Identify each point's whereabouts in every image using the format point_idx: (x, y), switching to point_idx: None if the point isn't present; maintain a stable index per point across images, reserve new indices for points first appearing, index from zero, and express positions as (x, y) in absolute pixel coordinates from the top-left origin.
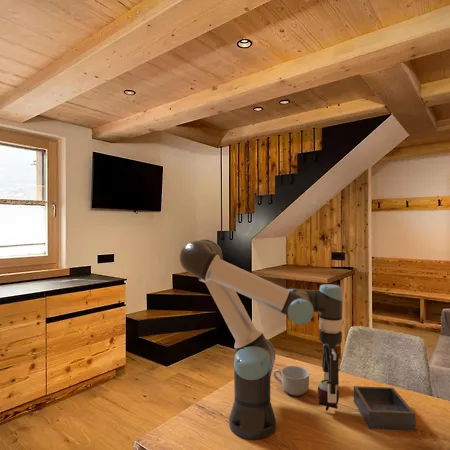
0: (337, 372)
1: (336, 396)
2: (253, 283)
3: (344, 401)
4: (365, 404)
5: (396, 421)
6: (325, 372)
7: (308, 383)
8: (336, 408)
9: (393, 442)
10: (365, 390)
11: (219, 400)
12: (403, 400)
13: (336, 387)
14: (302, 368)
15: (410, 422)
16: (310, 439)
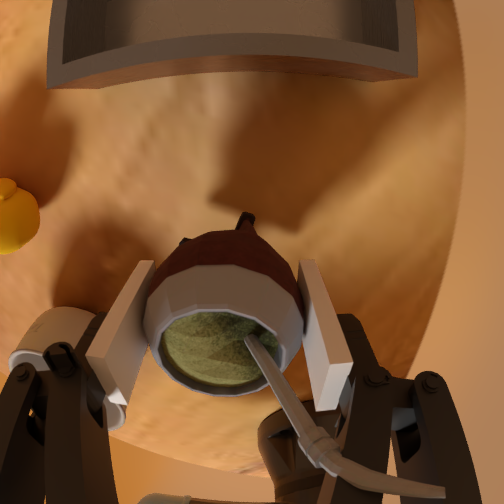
0: (469, 477)
1: (324, 284)
2: None
3: (106, 137)
4: (330, 55)
5: None
6: (110, 392)
7: (73, 330)
8: (254, 220)
9: (448, 39)
10: (76, 16)
11: (212, 460)
12: None
13: (342, 334)
14: (13, 361)
15: None
16: (405, 326)
